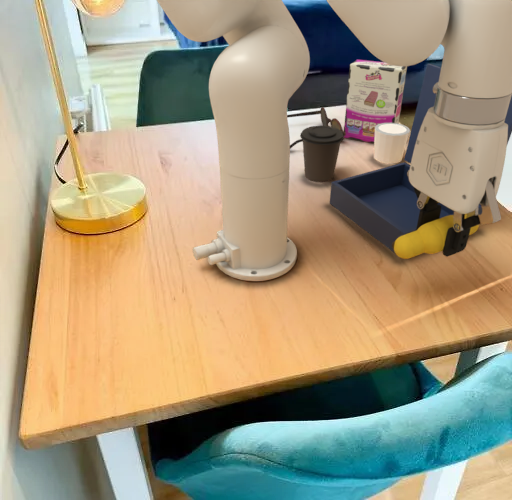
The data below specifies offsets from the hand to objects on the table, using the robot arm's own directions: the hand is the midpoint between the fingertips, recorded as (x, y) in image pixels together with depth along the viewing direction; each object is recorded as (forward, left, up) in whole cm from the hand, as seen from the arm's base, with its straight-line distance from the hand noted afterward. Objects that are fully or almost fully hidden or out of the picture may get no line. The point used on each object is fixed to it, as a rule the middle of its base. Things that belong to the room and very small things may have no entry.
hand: (439, 241), depth 66 cm
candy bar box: (+27, +47, -9) cm, 54 cm away
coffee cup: (+6, +36, -9) cm, 37 cm away
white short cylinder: (+23, +36, -9) cm, 43 cm away
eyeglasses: (+14, +55, -9) cm, 57 cm away
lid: (+18, +17, +5) cm, 25 cm away
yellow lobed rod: (0, 0, -1) cm, 1 cm away
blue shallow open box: (+10, +17, -8) cm, 21 cm away
